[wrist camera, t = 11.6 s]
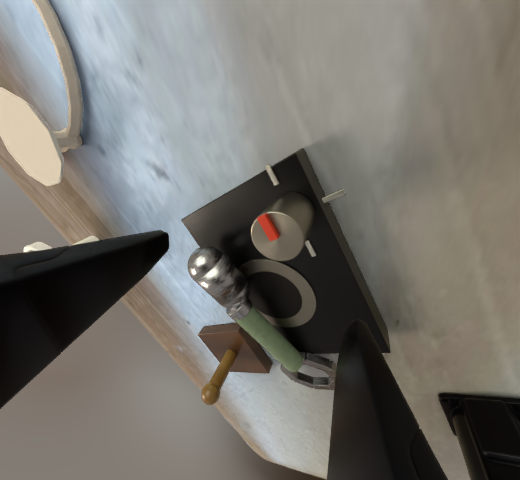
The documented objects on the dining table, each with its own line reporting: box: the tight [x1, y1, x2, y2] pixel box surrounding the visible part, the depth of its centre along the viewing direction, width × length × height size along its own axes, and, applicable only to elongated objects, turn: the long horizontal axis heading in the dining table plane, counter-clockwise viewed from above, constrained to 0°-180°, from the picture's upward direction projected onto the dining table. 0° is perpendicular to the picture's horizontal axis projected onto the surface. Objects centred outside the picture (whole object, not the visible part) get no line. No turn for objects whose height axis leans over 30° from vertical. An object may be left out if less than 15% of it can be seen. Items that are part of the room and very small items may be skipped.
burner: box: [238, 259, 316, 327], centre depth 20 cm, size 8×8×1 cm
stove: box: [182, 148, 390, 354], centre depth 19 cm, size 18×14×3 cm
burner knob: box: [251, 192, 315, 261], centre depth 14 cm, size 3×3×4 cm
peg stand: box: [198, 323, 272, 405], centre depth 28 cm, size 8×8×8 cm
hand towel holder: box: [0, 0, 83, 186], centre depth 20 cm, size 17×4×21 cm
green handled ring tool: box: [188, 246, 337, 390], centre depth 21 cm, size 21×6×4 cm, turn 36°
